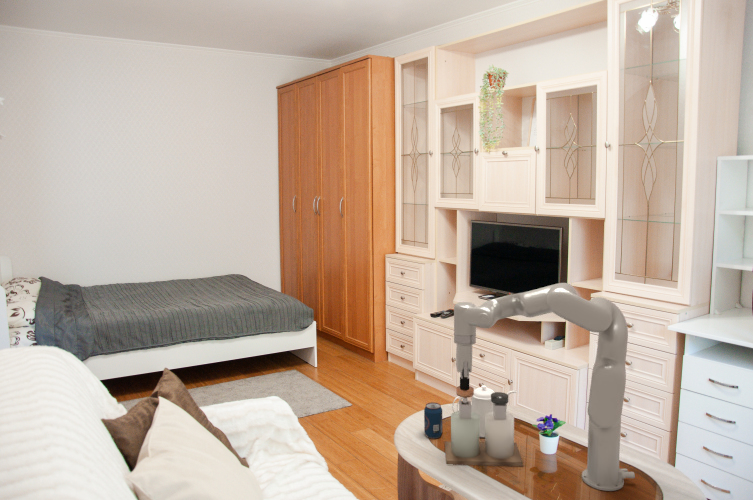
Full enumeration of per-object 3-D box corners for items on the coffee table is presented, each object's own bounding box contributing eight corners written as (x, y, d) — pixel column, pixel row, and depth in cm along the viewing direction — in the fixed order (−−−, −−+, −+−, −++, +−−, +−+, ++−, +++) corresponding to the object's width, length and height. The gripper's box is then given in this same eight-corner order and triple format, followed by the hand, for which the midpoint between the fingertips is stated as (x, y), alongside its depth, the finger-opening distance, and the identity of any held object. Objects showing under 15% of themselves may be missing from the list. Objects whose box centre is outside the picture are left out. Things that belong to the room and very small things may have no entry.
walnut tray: (516, 446, 204) (516, 442, 204) (522, 466, 191) (522, 462, 190) (444, 445, 207) (444, 441, 206) (446, 464, 193) (446, 460, 193)
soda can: (422, 431, 218) (422, 402, 216) (439, 430, 219) (439, 400, 217) (427, 440, 211) (427, 409, 209) (444, 438, 212) (444, 408, 210)
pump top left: (506, 412, 199) (507, 392, 198) (509, 420, 193) (509, 399, 192) (489, 412, 199) (490, 392, 198) (491, 419, 193) (492, 398, 192)
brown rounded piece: (472, 406, 199) (472, 385, 198) (474, 413, 194) (474, 392, 192) (456, 405, 200) (456, 385, 199) (457, 412, 194) (456, 391, 193)
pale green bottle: (477, 444, 203) (478, 397, 201) (480, 458, 194) (480, 409, 191) (450, 444, 204) (450, 397, 202) (451, 457, 194) (451, 408, 192)
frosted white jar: (511, 445, 202) (511, 397, 200) (515, 459, 192) (516, 409, 190) (483, 444, 203) (483, 397, 201) (486, 458, 193) (486, 409, 191)
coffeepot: (520, 439, 209) (520, 391, 207) (453, 438, 212) (452, 390, 209) (515, 426, 220) (516, 381, 218) (452, 425, 223) (451, 380, 220)
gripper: (452, 331, 201) (452, 380, 203) (455, 344, 186) (455, 396, 189) (473, 332, 200) (473, 380, 203) (477, 344, 186) (477, 397, 188)
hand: (464, 388), depth 196 cm, fingers closed
